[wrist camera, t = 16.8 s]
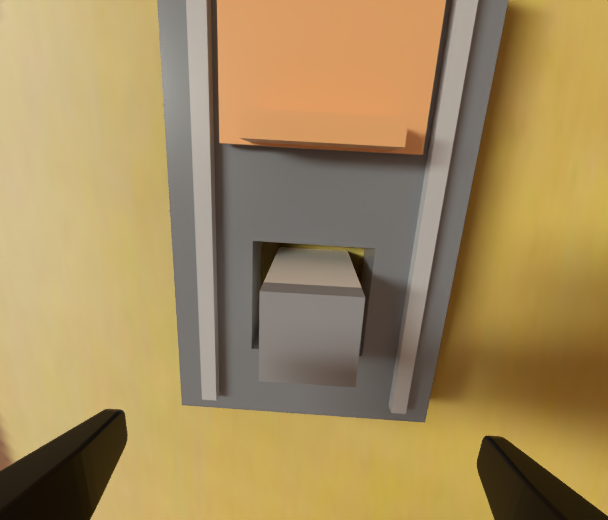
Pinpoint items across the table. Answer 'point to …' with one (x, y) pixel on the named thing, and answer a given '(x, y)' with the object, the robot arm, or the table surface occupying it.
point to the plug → (310, 318)
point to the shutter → (327, 73)
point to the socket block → (318, 223)
